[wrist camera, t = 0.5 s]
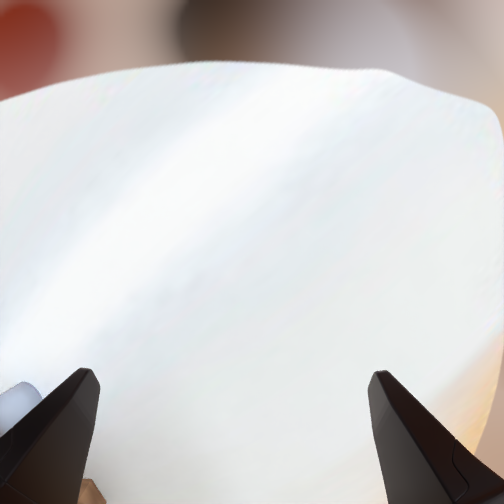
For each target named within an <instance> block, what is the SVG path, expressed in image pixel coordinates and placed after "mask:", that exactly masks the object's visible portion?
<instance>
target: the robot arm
mask: <svg viewBox="0 0 504 504" xmlns="http://www.w3.org/2000/svg"><path fill="white" fill-rule="evenodd" d="M99 394H100V384H99V382H98V380H97V378H96V376H95V374H94V373H93V371H92V370H91V369H89V368H79V369H78V370H76V371H75V372H74V373H73V374H72V375H71V376H69V377H68V378H67V379H66V380H65V381H64V382H63V383H61V384H60V385H59V386H58V387H57V388H56V389H55V390H53V391H52V392H51V393H50V394H49V395H48V396H47V397H45V398H44V399H43V400H42V401H41V402H40V403H39V404H37V405H36V406H35V407H34V408H33V409H32V410H31V411H30V412H28V413H27V414H26V415H25V416H24V417H23V418H22V419H21V420H19V421H18V422H17V423H16V424H15V425H14V426H13V428H10V429H9V430H8V431H7V432H6V433H5V434H4V435H2V436H1V437H0V504H78V498H79V493H80V488H81V483H82V478H83V473H84V469H85V464H86V460H87V456H88V451H89V447H90V443H91V439H92V435H93V431H94V426H95V420H96V413H97V407H98V400H99ZM368 398H369V406H370V413H371V421H372V429H373V436H374V440H375V444H376V449H377V453H378V457H379V462H380V466H381V471H382V475H383V480H384V484H385V489H386V494H387V499H388V504H504V479H502V478H501V477H500V476H498V475H497V474H496V473H495V472H493V471H492V470H491V469H490V468H488V467H487V466H486V465H484V464H483V463H482V462H481V461H480V460H478V459H477V458H476V457H475V456H474V455H472V454H471V453H470V452H469V451H468V450H467V449H466V448H465V447H464V446H463V445H462V444H461V443H460V442H459V441H458V440H457V439H456V440H455V437H454V436H453V435H452V434H451V433H450V432H449V431H448V430H447V429H446V428H445V427H444V426H443V425H442V424H441V423H440V422H439V421H438V420H437V419H436V418H435V417H434V416H433V415H432V414H431V413H430V412H429V411H428V410H427V409H426V408H425V407H424V406H423V405H422V404H421V403H420V402H419V401H418V400H417V399H416V398H415V397H414V396H413V395H412V394H411V393H410V392H409V391H408V390H407V389H406V388H405V387H404V386H403V385H402V384H401V383H400V382H399V381H398V380H397V379H396V378H395V377H394V376H393V375H392V374H391V373H390V372H388V371H387V370H382V371H376V372H374V374H373V376H372V379H371V381H370V384H369V386H368Z"/></svg>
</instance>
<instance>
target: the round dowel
mask: <svg viewBox="0 0 504 504" xmlns="http://www.w3.org/2000/svg"><path fill="white" fill-rule="evenodd" d="M42 400H43V399H42V397H41V395H40V393H39V392H38V390H37V389H36V388H35V387H34V386H33V385H31V384H30V383H27V382H21V383H19V384H17V385H16V386H14V387H12V388H11V389H9V390H8V391H6V392H4V393H3V394H1V395H0V437H1V436H2V435H4V434H5V433H6V432H7V431H8V430H9V429H10V428H13V426H14V425H15V424H16V423H17V422H18V421H19V420H21V419H22V418H23V417H24V416H25V415H26V414H27V413H28V412H30V411H31V410H32V409H33V408H34V407H35V406H36V405H37V404H39V403H40V402H41V401H42Z"/></svg>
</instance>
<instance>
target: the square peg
mask: <svg viewBox="0 0 504 504" xmlns="http://www.w3.org/2000/svg"><path fill="white" fill-rule="evenodd" d="M78 504H106V500H105V499H104V497H103V496H102V494H101V493H100V491H99V490H98V488H97V487H96V485H95V484H94V482H93V480H92V479H82V483H81V488H80V493H79V498H78Z"/></svg>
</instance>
